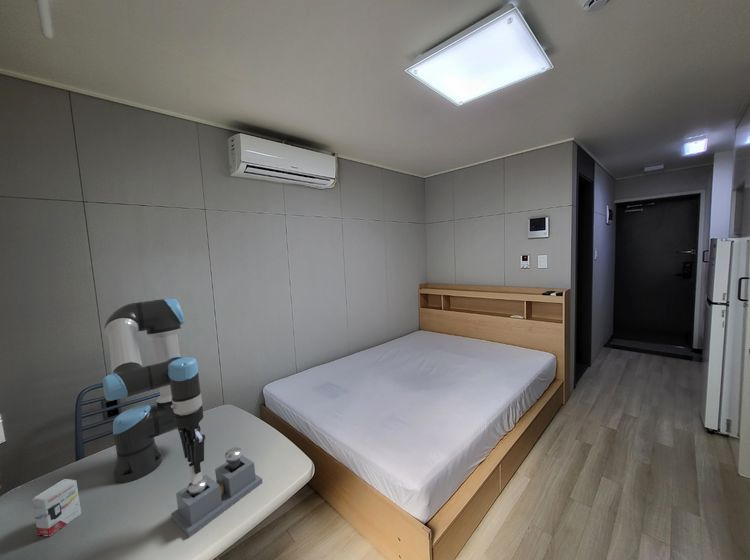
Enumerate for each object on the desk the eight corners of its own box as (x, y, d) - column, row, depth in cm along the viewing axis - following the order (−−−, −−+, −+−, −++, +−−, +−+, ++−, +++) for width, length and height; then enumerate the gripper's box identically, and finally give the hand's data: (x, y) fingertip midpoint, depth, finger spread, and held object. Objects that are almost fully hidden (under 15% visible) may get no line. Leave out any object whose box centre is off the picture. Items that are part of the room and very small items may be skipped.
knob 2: (224, 475, 103) (222, 453, 103) (238, 466, 107) (236, 445, 107) (232, 481, 100) (230, 459, 100) (246, 472, 104) (243, 450, 104)
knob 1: (188, 509, 94) (185, 485, 93) (204, 498, 98) (201, 475, 97) (195, 516, 91) (192, 492, 90) (212, 504, 95) (209, 481, 94)
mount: (171, 518, 93) (168, 494, 92) (243, 470, 113) (241, 450, 112) (189, 537, 86) (186, 512, 86) (262, 482, 106) (260, 461, 105)
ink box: (49, 537, 89) (42, 501, 88) (37, 535, 90) (30, 499, 89) (82, 513, 97) (77, 479, 96) (70, 511, 98) (65, 477, 97)
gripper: (165, 409, 92) (174, 480, 94) (184, 421, 85) (194, 498, 87) (191, 399, 98) (199, 466, 101) (211, 409, 91) (219, 481, 93)
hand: (197, 481), depth 94 cm, fingers closed
